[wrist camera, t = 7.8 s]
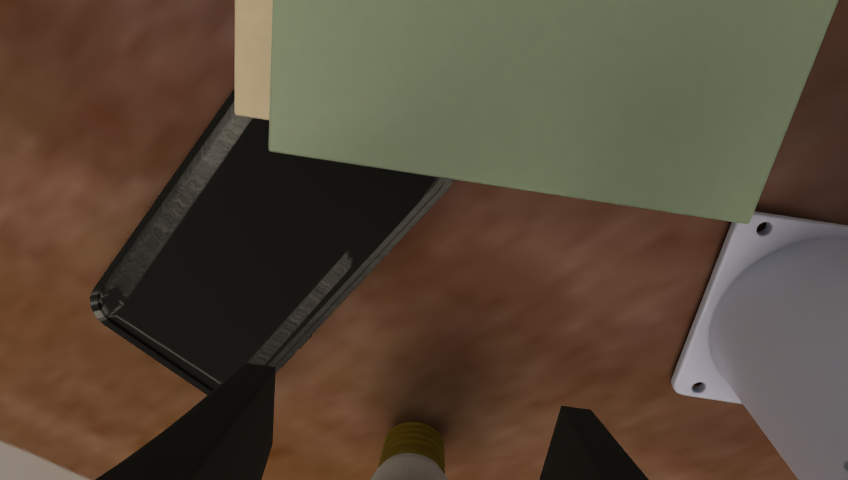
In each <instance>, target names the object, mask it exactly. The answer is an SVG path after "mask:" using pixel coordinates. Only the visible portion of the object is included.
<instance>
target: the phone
mask: <svg viewBox="0 0 848 480" xmlns="http://www.w3.org/2000/svg"><path fill="white" fill-rule="evenodd" d="M234 99H235V88H234V90H233V91H232V93H231V94H230V96H229V97H228V98H227V100H226V101H225V103H224V104H223V105H222V107H221V108H220V110H219V111H218V113H217V114H216V115H215V117H214V118H213V120H212V121H211V123H210V124H209V125H208V127H207V128H206V130H205V131H204V133H203V134H202V135H201V137H200V138H199V140H198V141H197V142H196V144H195V145H194V147H193V148H192V150H191V151H190V152H189V154H188V155H187V157H186V158H185V160H184V161H183V162H182V164H181V165H180V167H179V168H178V170H177V171H176V172H175V174H174V175H173V177H172V178H171V179H170V181H169V182H168V184H167V185H166V187H165V188H164V189H163V191H162V192H161V194H160V195H159V197H158V198H157V199H156V201H155V202H154V204H153V205H152V207H151V208H150V209H149V211H148V212H147V214H146V215H145V216H144V218H143V219H142V221H141V222H140V224H139V225H138V226H137V228H136V229H135V231H134V232H133V234H132V235H131V236H130V238H129V239H128V241H127V242H126V244H125V245H124V246H123V248H122V249H121V251H120V252H119V254H118V255H117V256H116V258H115V259H114V261H113V262H112V263H111V265H110V266H109V268H108V269H107V271H106V272H105V273H104V275H103V276H102V278H101V279H100V281H99V282H98V283H97V285H96V286H95V288H94V289H93V291H92V293H91V296H90V305H91V308H92V311H93V313H94V314H95V316H96V317H97V319H98V320H99V321H100V322H102V323H103V324H104V325H105V326H107V327H108V328H110V329H111V330H112V331H114V332H115V333H117V334H118V335H120V336H121V337H123V338H124V339H126V340H127V341H129V342H130V343H132V344H133V345H135V346H136V347H137V348H139V349H140V350H142V351H143V352H145V353H146V354H148V355H149V356H151V357H152V358H154V359H155V360H157V361H158V362H160V363H161V364H162V365H164V366H165V367H167V368H168V369H170V370H171V371H173V372H174V373H176V374H177V375H179V376H180V377H182V378H183V379H184V380H186V381H187V382H189V383H190V384H192V385H193V386H195V387H196V388H198V389H199V390H201V391H202V392H204V393H205V394H207V395H209V394H210V393H211V392H212V391H213V390H214V389H216V388H217V387H218V386H219V385H220V384H221V383H223V382H224V381H225V380H226V379H227V378H228V377H229V376H231V375H232V374H233V373H234V372H235V371H236V370H237V369H239V368H240V367H241V366H242V365H244V364H245V363H250V364H257V365H265V366H272V367H276V368H275V373H276V372H277V371H278V370H279V369H280V368H281V367H283V365H284V364H285V363H286V362H287V361H288V360H289V359H290V358H291V357H292V356H293V355H294V354H295V352H296V351H297V350H298V349H300V348H301V347H302V346H303V345H304V344H305V343H306V342H307V341H308V339H309V338H310V337H311V336H312V334H313V333H314V332H315V331H316V330H317V328H318V327H319V326H320V325H321V324H322V323H323V322H324V321H325V320H326V319H327V318H328V317H329V316H330V315H331V314H332V312H333V311H334V310H335V309H336V308H337V307H338V306H339V305H340V304H341V303H342V302H343V301H344V300H345V299H346V298H347V296H348V295H349V294H350V293H351V292H352V291H353V290H354V289H355V288H356V287H357V286H358V285H359V284H360V283H361V282H362V280H363V279H364V278H365V277H366V276H367V275H368V274H369V273H370V272H371V271H372V270H373V269H374V268H375V267H376V266H377V265H378V263H379V262H380V261H381V260H382V259H383V258H384V257H385V256H386V255H387V254H388V253H389V252H390V251H391V250H392V249H393V247H394V246H395V245H396V244H397V243H398V242H399V241H400V240H401V239H402V238H403V237H404V236H405V235H406V234H407V233H408V231H409V230H410V229H411V228H412V227H413V226H414V225H415V224H416V223H417V222H418V221H419V220H420V219H421V218H422V217H423V215H424V214H425V213H426V212H427V211H428V210H429V209H430V208H431V207H432V206H433V205H434V204H435V203H436V202H437V201H438V199H439V198H440V197H441V196H442V195H443V194H444V193H445V192H446V191H447V190H448V189H449V187H450V186H451V184H452V183H453V181H454V179H447V178H441V177H434V176H428V175H421V174H415V173H408V172H401V171H395V170H388V169H382V168H375V167H369V166H362V165H356V164H349V163H342V162H336V161H329V160H323V159H316V158H310V157H303V156H296V155H290V154H283V153H277V152H271V151H269V148H268V144H269V120H264V119H257V118H251V117H244V116H238V115H236V114H235V112H234Z"/></svg>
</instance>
